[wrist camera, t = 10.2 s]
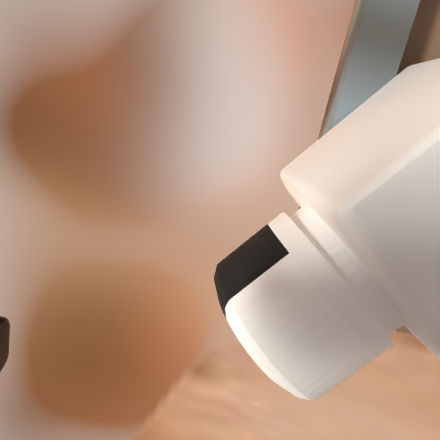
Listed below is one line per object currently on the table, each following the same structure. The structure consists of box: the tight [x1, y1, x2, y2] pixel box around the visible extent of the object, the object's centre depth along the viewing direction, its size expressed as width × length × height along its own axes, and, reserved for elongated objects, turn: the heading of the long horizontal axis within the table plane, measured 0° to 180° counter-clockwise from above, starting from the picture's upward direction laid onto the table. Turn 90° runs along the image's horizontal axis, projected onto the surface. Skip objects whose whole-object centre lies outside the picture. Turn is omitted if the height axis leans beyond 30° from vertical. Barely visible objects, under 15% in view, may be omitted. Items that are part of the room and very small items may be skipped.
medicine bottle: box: [214, 58, 440, 400], centre depth 13 cm, size 7×7×12 cm
